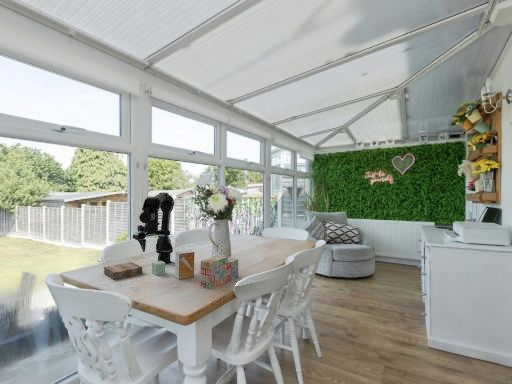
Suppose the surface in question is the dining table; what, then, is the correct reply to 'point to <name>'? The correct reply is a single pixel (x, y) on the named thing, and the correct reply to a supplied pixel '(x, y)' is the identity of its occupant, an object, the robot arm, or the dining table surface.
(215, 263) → the stack of blocks
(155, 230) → the robot arm
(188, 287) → the dining table surface
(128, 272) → the walnut base
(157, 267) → the green cube
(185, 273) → the small box
